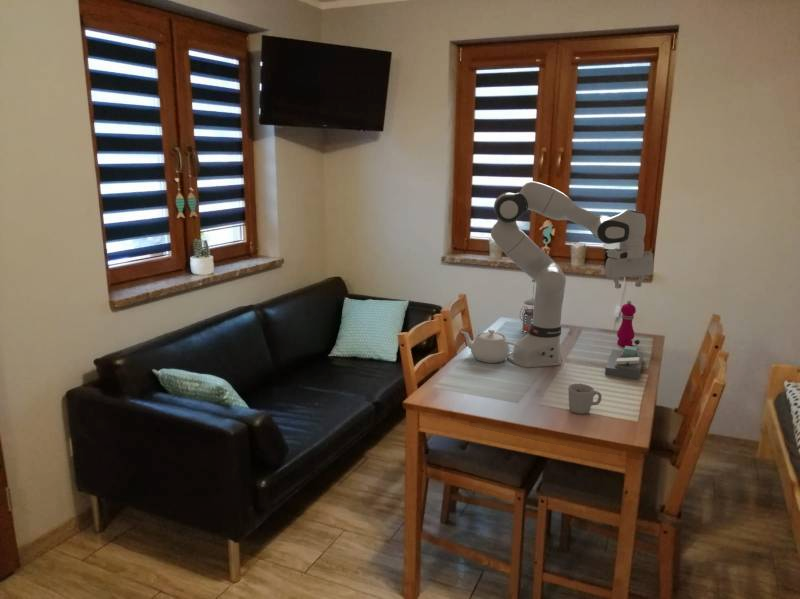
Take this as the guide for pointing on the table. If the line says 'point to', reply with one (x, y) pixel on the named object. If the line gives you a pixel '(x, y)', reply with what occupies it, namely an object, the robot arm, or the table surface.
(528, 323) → the french press
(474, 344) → the teapot
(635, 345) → the toggle lever
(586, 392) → the cup
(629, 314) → the pepper mill
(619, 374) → the control panel
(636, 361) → the rocker switch
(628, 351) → the push button
